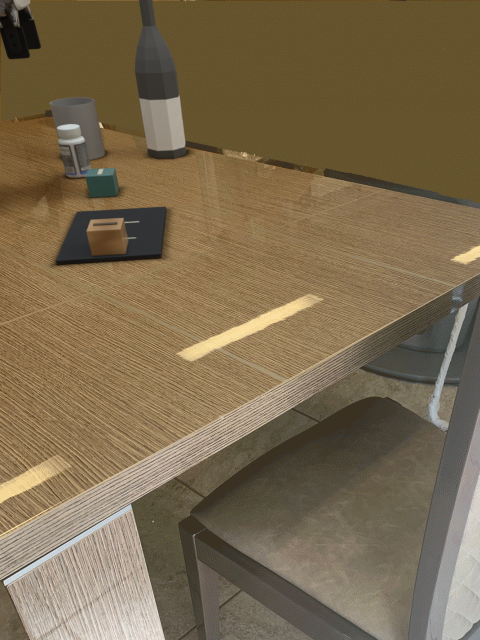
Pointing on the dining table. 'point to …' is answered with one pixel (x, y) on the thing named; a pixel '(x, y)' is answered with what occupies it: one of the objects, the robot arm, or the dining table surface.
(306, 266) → the dining table surface
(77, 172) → the pill bottle
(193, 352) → the dining table surface
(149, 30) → the wine bottle
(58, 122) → the cup
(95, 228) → the maple block
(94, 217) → the mat
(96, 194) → the teal block
